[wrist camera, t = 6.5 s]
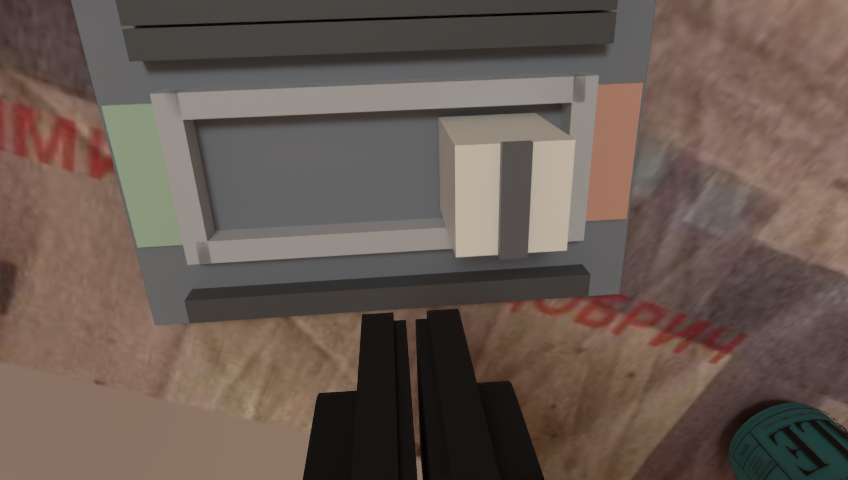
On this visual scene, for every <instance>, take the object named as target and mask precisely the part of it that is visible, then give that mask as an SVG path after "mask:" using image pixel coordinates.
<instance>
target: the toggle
mask: <svg viewBox="0 0 848 480" xmlns="http://www.w3.org/2000/svg"><path fill="white" fill-rule="evenodd" d="M438 123H439V175H440V211H441V214H442V217H443V220H444V223H445V226H446V229H447V232H448V235H449V238H450V241H451V244H452V247H453V251H454V254H455V257H472V256H488V255H498V258H499V260H503V259H519V258H528V253H536V252H552V251H567V242H568V230H569V217H570V205H571V192H572V179H573V167H574V154H575V142H576V140H575V139H574V138H572V137H571V136H569V135H568V134H566V133H565V132H563V131H562V130H560V129H559V128H557V127H556V126H554V125H553V124H551V123H550V122H548V121H547V120H545V119H544V118H542V117H541V116H539V115H538V114H536V113H519V114H497V115H475V116H453V117H438Z"/></svg>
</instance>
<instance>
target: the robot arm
mask: <svg viewBox="0 0 848 480" xmlns="http://www.w3.org/2000/svg"><path fill="white" fill-rule="evenodd" d="M416 346H417V373H418V400H419V427H420V449H421V463H422V474H423V480H544V477H543V474H542V471H541V468H540V465H539V462H538V459H537V456H536V453H535V450H534V447H533V445H532V442H531V439H530V436H529V433H528V430H527V427H526V424H525V421H524V418H523V415H522V412H521V409H520V406H519V403H518V400H517V397H516V394H515V392H514V389H513V386H512V384H511V383H510V382H509V381H501V382H485V383H477V382H476V378H475V374H474V370H473V366H472V362H471V358H470V354H469V350H468V345H467V341H466V337H465V333H464V329H463V325H462V321H461V317H460V313H459V310H458V309H447V310H430V311H427V319H416ZM303 480H417V468H416V454H415V440H414V426H413V412H412V398H411V384H410V370H409V357H408V343H407V329H406V320H399V321H394V316H393V313H378V314H363V315H362V324H361V339H360V353H359V368H358V383H357V391H346V392H330V393H319V394H318V396H317V400H316V405H315V411H314V417H313V423H312V428H311V434H310V440H309V446H308V452H307V458H306V464H305V470H304V476H303Z"/></svg>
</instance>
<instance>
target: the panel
mask: <svg viewBox="0 0 848 480" xmlns="http://www.w3.org/2000/svg"><path fill="white" fill-rule="evenodd" d="M71 2H72V6H73V10H74V14H75V18H76V21H77V25H78V29H79V33H80V37H81V41H82V45H83V49H84V52H85V56H86V60H87V64H88V68H89V72H90V76H91V79H92V83H93V87H94V91H95V95H96V99H97V103H98V107H99V110H100V114H101V118H102V122H103V126H104V130H105V134H106V137H107V141H108V145H109V149H110V153H111V157H112V161H113V165H114V168H115V172H116V176H117V180H118V184H119V188H120V192H121V196H122V199H123V203H124V207H125V211H126V215H127V219H128V223H129V226H130V230H131V234H132V238H133V242H134V246H135V250H136V254H137V257H138V261H139V265H140V269H141V273H142V277H143V281H144V284H145V288H146V292H147V296H148V300H149V304H150V308H151V312H152V315H153V319H154V323H155V325H170V324H184V323H199V322H214V321H228V320H243V319H258V318H273V317H287V316H302V315H317V314H332V313H346V312H361V311H376V310H390V309H405V308H420V307H435V306H449V305H464V304H479V303H493V302H508V301H523V300H538V299H552V298H567V297H582V296H597V295H611V294H619V292H620V284H621V276H622V268H623V260H624V252H625V244H626V236H627V228H628V220H629V212H630V204H631V196H632V188H633V180H634V172H635V164H636V156H637V148H638V140H639V132H640V124H641V116H642V108H643V100H644V92H645V84H646V76H647V68H648V60H649V52H650V44H651V36H652V28H653V20H654V12H655V4H656V0H71ZM519 113H536V114H538V115H539V116H541V117H542V118H544V119H545V120H547V121H548V122H550V123H551V124H553V125H554V126H556V127H557V128H559V129H560V130H562V131H563V132H565V133H566V134H568V135H569V136H571V137H572V138H574V139H575V140H576V142H575V154H574V167H573V179H572V192H571V205H570V217H569V230H568V242H567V251H552V252H536V253H528V258H519V259H503V260H499V258H498V255H488V256H472V257H455V254H454V251H453V247H452V244H451V241H450V238H449V235H448V232H447V229H446V226H445V223H444V220H443V217H442V214H441V211H440V175H439V123H438V117H453V116H475V115H497V114H519Z"/></svg>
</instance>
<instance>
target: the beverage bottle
mask: <svg viewBox="0 0 848 480" xmlns="http://www.w3.org/2000/svg"><path fill="white" fill-rule="evenodd" d="M823 412H824V411H823ZM823 412H821V410H820V411H819V410H818V409H815V408H813V407H811V406H808V405H805V404H801V403H786V404H780V405H776V406H773V407H770V408H767V409H765V410H763V411H761V412H759V413H757V414H756V415H754V416H753V417H751V418H750V419H749V420H747V421H746V422H745V423H744V424H743V425H742V426H741V427H740V428H739V430H738V431H737V432H736V434H735V435H734V437H733V439H732V441H731V443H730V446H729V452H728V457H729V462H730V465H731V467H732V470H733V472H734V474H735V476H736V477H737V479H738V480H848V432H847V431H846V430H845V429H846V428H845V427H843V426H842V425H840V424H839V423H837V424H839V426H841V427H842V428H843V429H844V430H845V431H844V430H843V429H841V427H839V426H838V425H837V424H836V423H835V422H834V421H832V420H831V419H830V418H829V417H828V416H827V415H825V414H824V413H823ZM825 413H826V412H825ZM827 414H828V413H827ZM829 415H830V414H829ZM831 418H832V417H831ZM833 419H834V420H836V419H835V418H834V417H833ZM836 421H837V420H836ZM837 422H838V421H837ZM846 432H847V433H846Z"/></svg>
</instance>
